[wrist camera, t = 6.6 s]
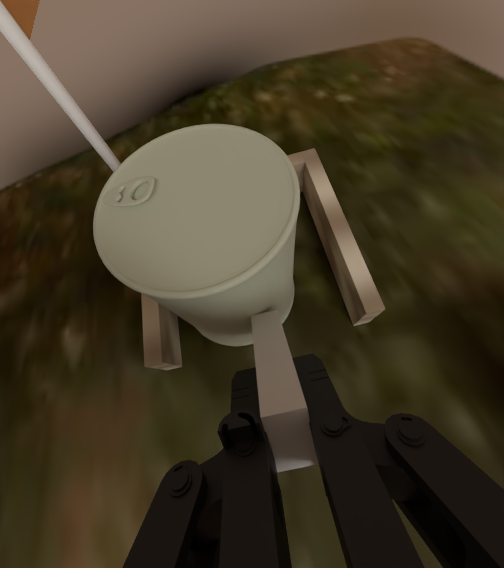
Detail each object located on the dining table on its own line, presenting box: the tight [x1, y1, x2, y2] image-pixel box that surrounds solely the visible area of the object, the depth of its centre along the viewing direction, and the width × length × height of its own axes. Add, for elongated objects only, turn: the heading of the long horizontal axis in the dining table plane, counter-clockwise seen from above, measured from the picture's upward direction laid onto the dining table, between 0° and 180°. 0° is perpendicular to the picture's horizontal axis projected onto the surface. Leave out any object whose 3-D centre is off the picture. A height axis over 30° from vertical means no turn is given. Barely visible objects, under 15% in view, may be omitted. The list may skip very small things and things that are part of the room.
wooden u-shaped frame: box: [141, 148, 385, 370], centre depth 21 cm, size 15×16×4 cm
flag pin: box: [0, 0, 121, 172], centre depth 18 cm, size 7×3×18 cm, turn 12°
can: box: [93, 124, 300, 346], centre depth 16 cm, size 9×9×12 cm
